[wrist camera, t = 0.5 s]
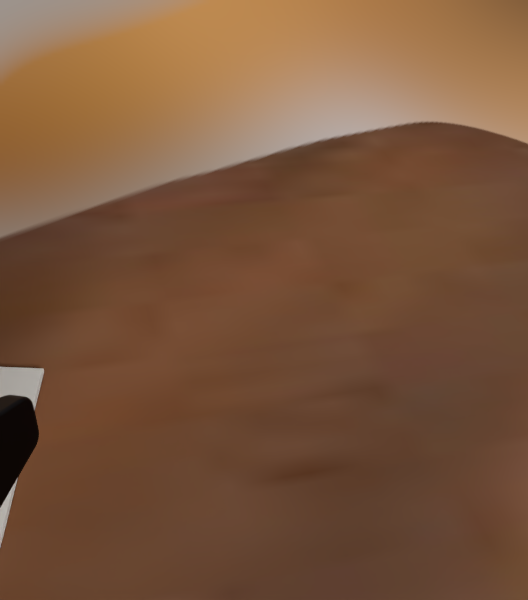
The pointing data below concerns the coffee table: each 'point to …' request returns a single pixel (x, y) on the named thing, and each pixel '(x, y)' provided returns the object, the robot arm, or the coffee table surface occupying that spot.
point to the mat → (19, 384)
